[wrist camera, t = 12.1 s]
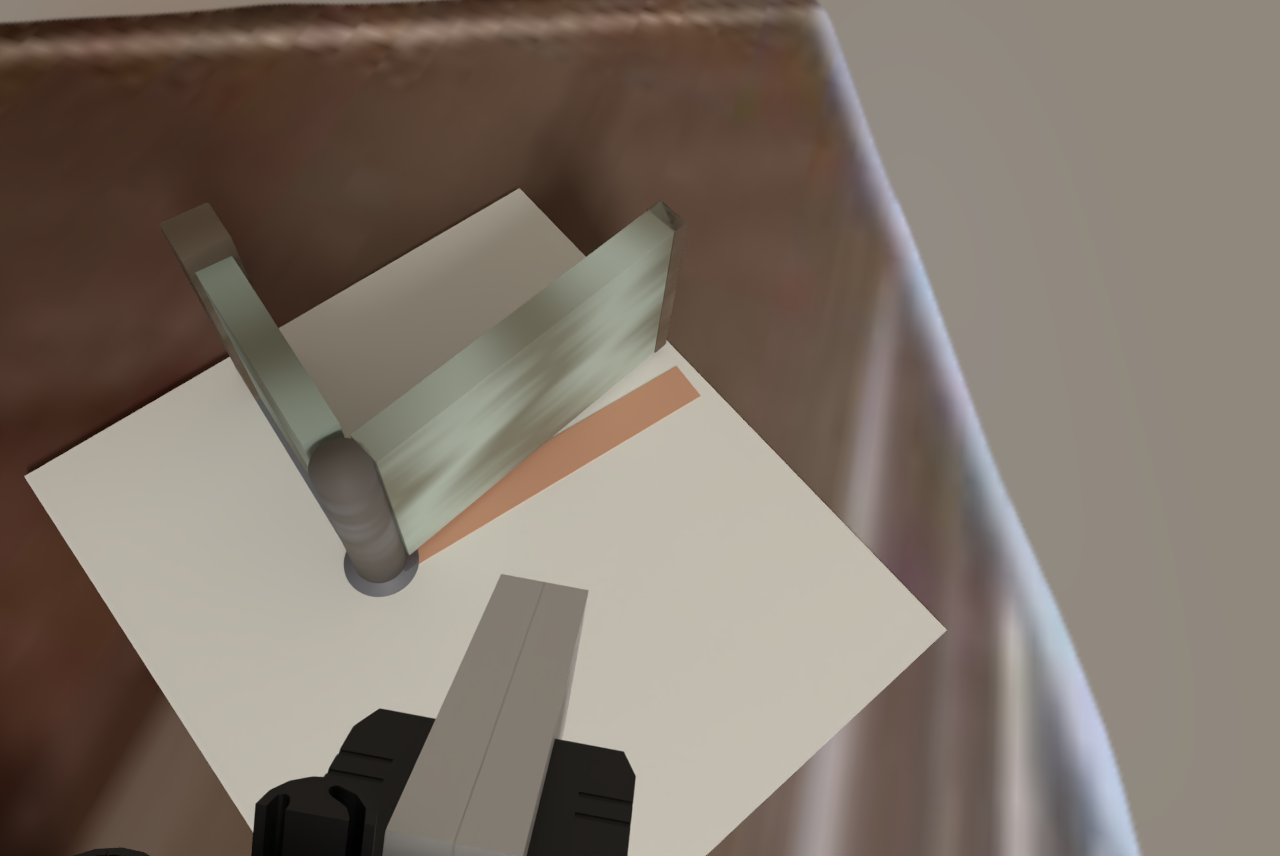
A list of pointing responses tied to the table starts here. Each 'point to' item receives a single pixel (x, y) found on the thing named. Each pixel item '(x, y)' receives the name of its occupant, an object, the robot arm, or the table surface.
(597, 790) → the robot arm
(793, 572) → the card
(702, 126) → the table surface
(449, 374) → the hinged fence panel
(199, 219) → the fixed fence section
